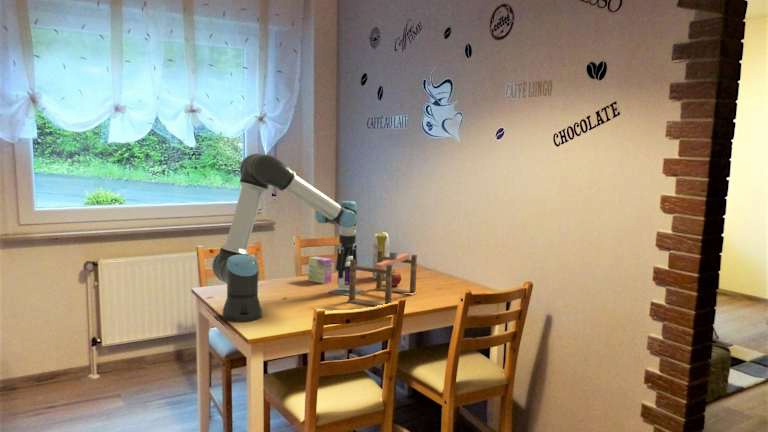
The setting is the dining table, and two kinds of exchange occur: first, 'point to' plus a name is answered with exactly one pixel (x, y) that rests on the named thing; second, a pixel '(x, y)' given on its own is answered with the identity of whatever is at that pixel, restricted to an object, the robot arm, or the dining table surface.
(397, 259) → the bar
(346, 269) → the pill bottle
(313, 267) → the box
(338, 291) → the coaster
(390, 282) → the frame
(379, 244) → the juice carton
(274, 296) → the dining table surface
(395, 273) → the apple
